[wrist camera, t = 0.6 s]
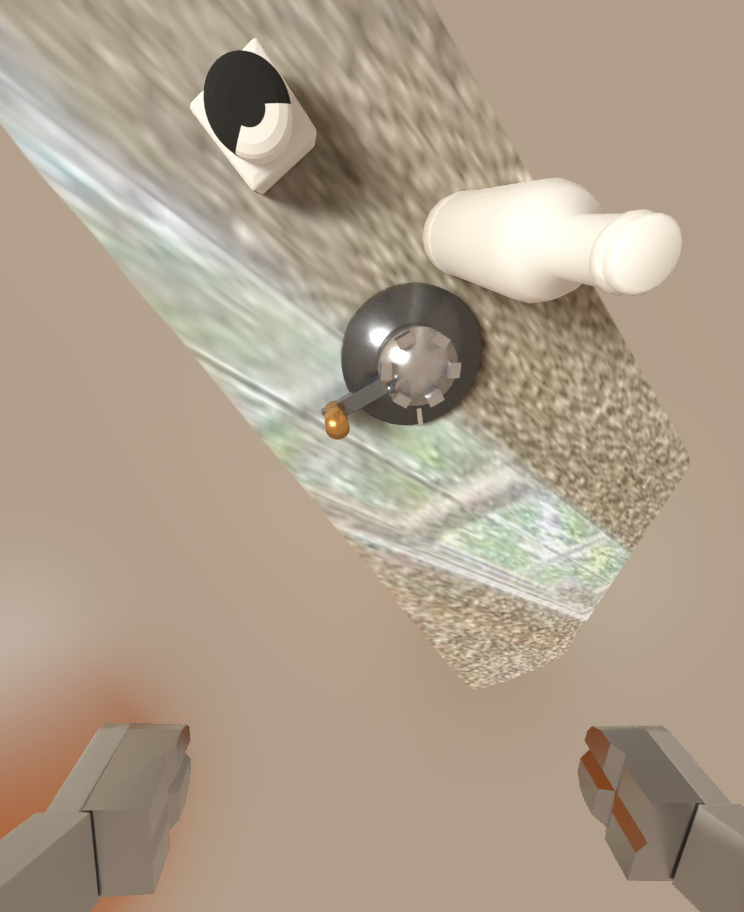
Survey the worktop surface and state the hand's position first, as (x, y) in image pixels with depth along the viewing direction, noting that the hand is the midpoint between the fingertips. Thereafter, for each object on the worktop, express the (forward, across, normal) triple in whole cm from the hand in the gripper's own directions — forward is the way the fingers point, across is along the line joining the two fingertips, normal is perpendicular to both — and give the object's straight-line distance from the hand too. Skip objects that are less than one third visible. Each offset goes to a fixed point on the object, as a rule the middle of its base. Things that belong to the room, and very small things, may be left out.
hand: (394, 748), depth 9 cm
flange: (+46, -7, -7) cm, 47 cm away
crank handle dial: (+45, -4, -5) cm, 45 cm away
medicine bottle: (+40, +10, -27) cm, 49 cm away
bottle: (+43, -10, -21) cm, 49 cm away
